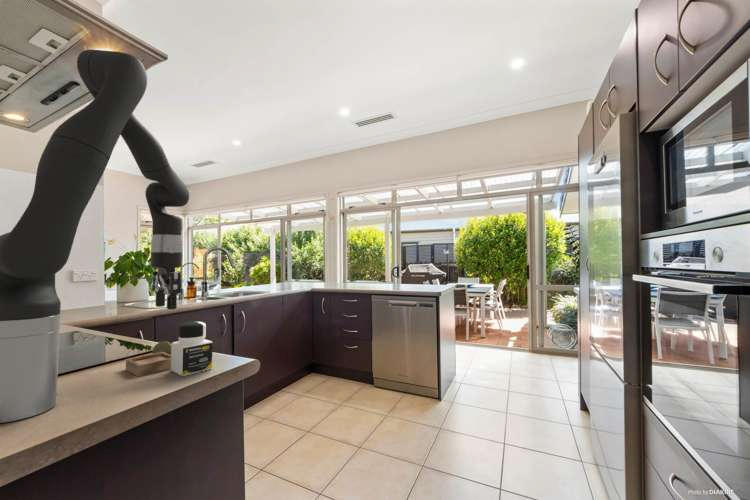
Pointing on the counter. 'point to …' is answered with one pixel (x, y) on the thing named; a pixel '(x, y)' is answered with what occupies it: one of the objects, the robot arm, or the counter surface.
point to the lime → (162, 348)
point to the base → (148, 364)
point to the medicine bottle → (191, 350)
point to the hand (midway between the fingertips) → (165, 307)
